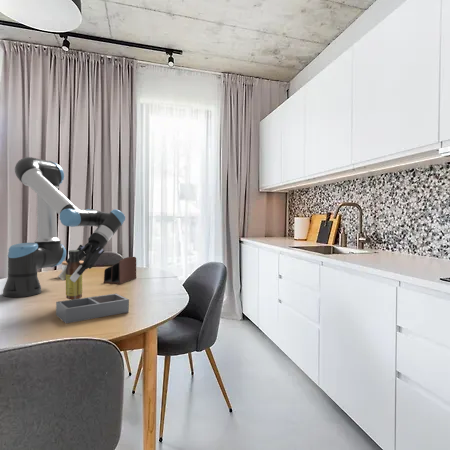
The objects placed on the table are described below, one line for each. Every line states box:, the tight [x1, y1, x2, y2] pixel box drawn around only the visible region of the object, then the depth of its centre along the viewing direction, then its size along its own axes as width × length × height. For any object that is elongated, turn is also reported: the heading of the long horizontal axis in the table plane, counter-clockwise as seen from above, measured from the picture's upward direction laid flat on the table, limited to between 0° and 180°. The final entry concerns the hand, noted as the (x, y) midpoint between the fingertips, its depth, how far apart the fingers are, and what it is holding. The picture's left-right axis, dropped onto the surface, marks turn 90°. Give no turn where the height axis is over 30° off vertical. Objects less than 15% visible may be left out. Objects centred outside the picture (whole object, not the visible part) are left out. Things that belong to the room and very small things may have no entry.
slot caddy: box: [55, 293, 130, 324], centre depth 122 cm, size 12×23×5 cm, turn 132°
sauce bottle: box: [65, 249, 83, 300], centre depth 132 cm, size 7×6×20 cm
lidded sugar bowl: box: [61, 260, 84, 272], centre depth 194 cm, size 13×13×11 cm
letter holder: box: [103, 256, 137, 285], centre depth 187 cm, size 10×20×14 cm, turn 169°
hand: (66, 279), depth 129 cm, fingers closed on sauce bottle, 6 cm apart
